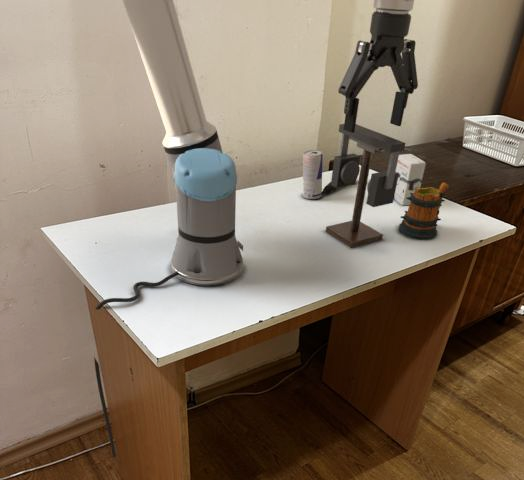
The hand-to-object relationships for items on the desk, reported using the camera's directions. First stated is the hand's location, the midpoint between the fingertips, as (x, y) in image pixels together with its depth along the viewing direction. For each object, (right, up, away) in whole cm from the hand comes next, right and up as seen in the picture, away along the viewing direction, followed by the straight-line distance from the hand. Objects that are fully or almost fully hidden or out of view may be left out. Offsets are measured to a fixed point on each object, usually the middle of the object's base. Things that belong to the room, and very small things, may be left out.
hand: (372, 127), depth 111 cm
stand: (-1, -20, +15) cm, 25 cm away
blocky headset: (-1, -12, +9) cm, 15 cm away
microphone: (-2, 0, +42) cm, 42 cm away
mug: (+17, -18, +20) cm, 32 cm away
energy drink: (-10, -4, +35) cm, 36 cm away
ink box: (+16, -5, +37) cm, 41 cm away
